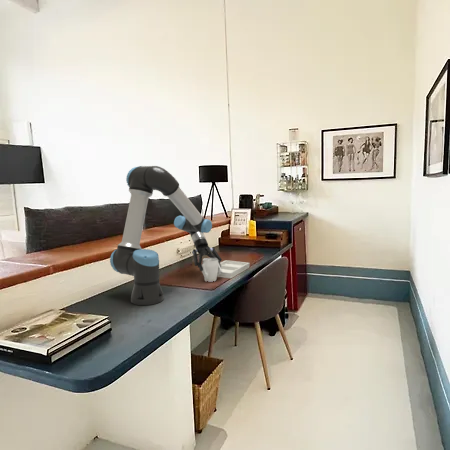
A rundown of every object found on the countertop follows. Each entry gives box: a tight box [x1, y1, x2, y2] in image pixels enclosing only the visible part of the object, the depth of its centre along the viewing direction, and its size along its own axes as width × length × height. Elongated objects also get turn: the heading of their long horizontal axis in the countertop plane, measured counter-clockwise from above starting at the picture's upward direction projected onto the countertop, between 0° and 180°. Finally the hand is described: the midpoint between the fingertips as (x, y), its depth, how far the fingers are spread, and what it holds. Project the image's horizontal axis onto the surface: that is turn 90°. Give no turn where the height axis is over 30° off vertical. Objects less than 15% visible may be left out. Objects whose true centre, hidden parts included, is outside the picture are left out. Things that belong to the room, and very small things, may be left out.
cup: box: [201, 257, 218, 283], centre depth 199 cm, size 9×9×12 cm
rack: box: [217, 259, 250, 279], centre depth 219 cm, size 28×17×3 cm, turn 154°
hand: (213, 274), depth 196 cm, fingers closed on cup, 9 cm apart
